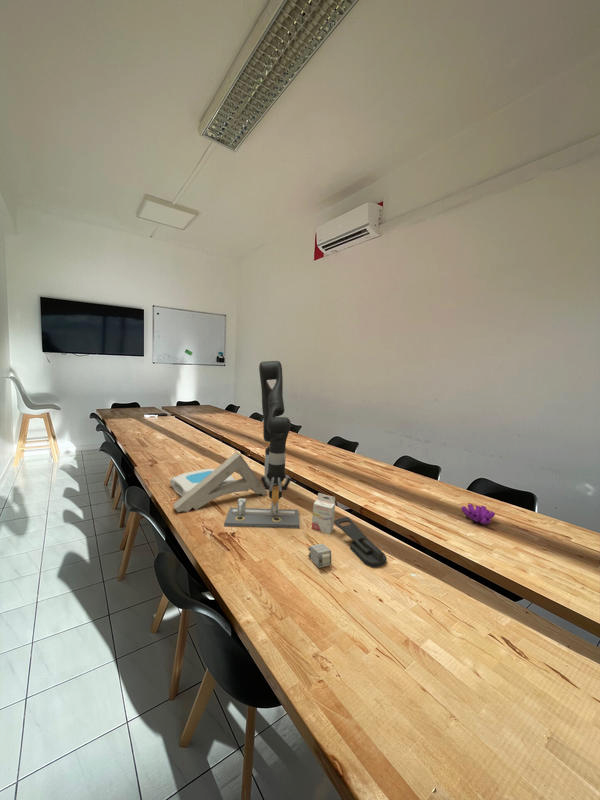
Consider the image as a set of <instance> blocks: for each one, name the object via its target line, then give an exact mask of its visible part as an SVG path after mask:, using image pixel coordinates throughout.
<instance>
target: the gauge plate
mask: <svg viewBox="0 0 600 800" xmlns="http://www.w3.org/2000/svg"><path fill="white" fill-rule="evenodd" d="M246 500H247V498H238V500H237V507H229V510H228V512H227V515H226V517H225V519H224V523H223V526H224V527H239V528H241V527H242V528H243V527H246V528H250V527H251V528H274V529H275V528H276V529H278V528H280V529H281V528H282V529H300V528H301V527H300V515H299V514H300V513H299V511H300V510H299V509H292V508H291V509H288V508H286V509H285V508H284V509H283V508H278V513H276V514H275V519H273V513H271V508H257V507H256V508H255V507H254V508H251V507H247V506H246V505H247V501H246Z"/></svg>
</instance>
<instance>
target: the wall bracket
mask: <svg viewBox="0 0 600 800" xmlns="http://www.w3.org/2000/svg"><path fill="white" fill-rule="evenodd" d="M214 469H215V470H214V471H213V472H211V473H210V474H209V475H208V476H207V477H205V478H204V479H203V480H202V481H201V482H199V483H198V484H197V485H196V486H195V487H193V488H192V489H191V490H190V491H188V492H187V493H186V494H185V495H184V496H180V498H179V499H177V500H176V501H175V502H174V503H173V504H172V506H173V508H174V510H175V511H176V512H177V513H178V514H179V513H180V512H185V513H188V512H189V511H190V510H192V509H194V510H195V511H197V510H199V509H200V508H202V507H204V506H205V505H206V504H208V503H209V502H211V501H213V500H215V499H218V498H219V497H220V498H221V497H223V496H226V495H230V494H233V493H240V492H241V493H242V492H248V491H249V490H250V491H252V492H254V493H255V494H256V495H262V496H263V497H265V496H266V495H267V494H269V491H268V490H266V489H265V487H264V485H263V483H262V481H260V480H259V478H258V477H257V476H256V474H255V473H254V471H253V470H252V468H251V467H250V466H249V465H248V463H247V461H246V460H245V459H244V457H243V456H242V455H241V454H240V453H239V452H237V451H236V452H235V453H234V454H232V455H231V456H230V457H228V458H227V459H226V460H225V461H224V462H222V463H221V464H220V465H218V466H217V467H216V468H214ZM236 471H237V472H238V474H239V475H240V477H241V478H240V479H235V481H233V482H230V483H226V484H223V485H220V484H221V483H222V482H223V481H224V480H226V479H227V478H228V477H229V476H230V475H232V476H233V474H234V473H236ZM219 485H220V486H219Z"/></svg>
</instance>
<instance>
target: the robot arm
mask: <svg viewBox="0 0 600 800" xmlns="http://www.w3.org/2000/svg"><path fill="white" fill-rule="evenodd" d="M258 368H259V369H258V370H259V373H258V374H259V379H260V388H261V406H262V407H261V409H262V416H263V417H262V419H263V421H262V422H263V423H262V425H263V430H262V432H263V437H262V438H263V440H264V442H266V443H269V446H267V447H266V448H265V450H264V451H265V453H264V473H263V474H264V475H262V476H261V478H260V479H261V483H262V485H263V487H264V488H265V489H266V491H268V498H269V499H270V500H272V487H274V486H276V485H278V487H279V500H281V498H282V496H283V491H286V490H287V488H288V486H289V485H290V482H291V481H292V477H291V476H288V475H286V461H287V460H286V457H287V456H286V449H287V448H286V444H287V439H288V435H289V433H290V431H291V427H292V422H291V420H290V419H289V417H285V416H283V417H282V415H283V414H284V413H285V403H284V398H283V395H284V394H283V393H284V392H283V391H284V386H283V385H284V383H283V382H284V381H283V380H284V379H283V377H284V376H283V368H282V363H281V361H279V360H269V361H267V360H266V361H261V362H260V363H259V365H258ZM272 380H273V381H274V380H275V383H274V386H273V387H271V386H270V385H269V382H268V381H272ZM280 416H281V417H280ZM284 480H285V482H284V485H282V482H283V481H284Z"/></svg>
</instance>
